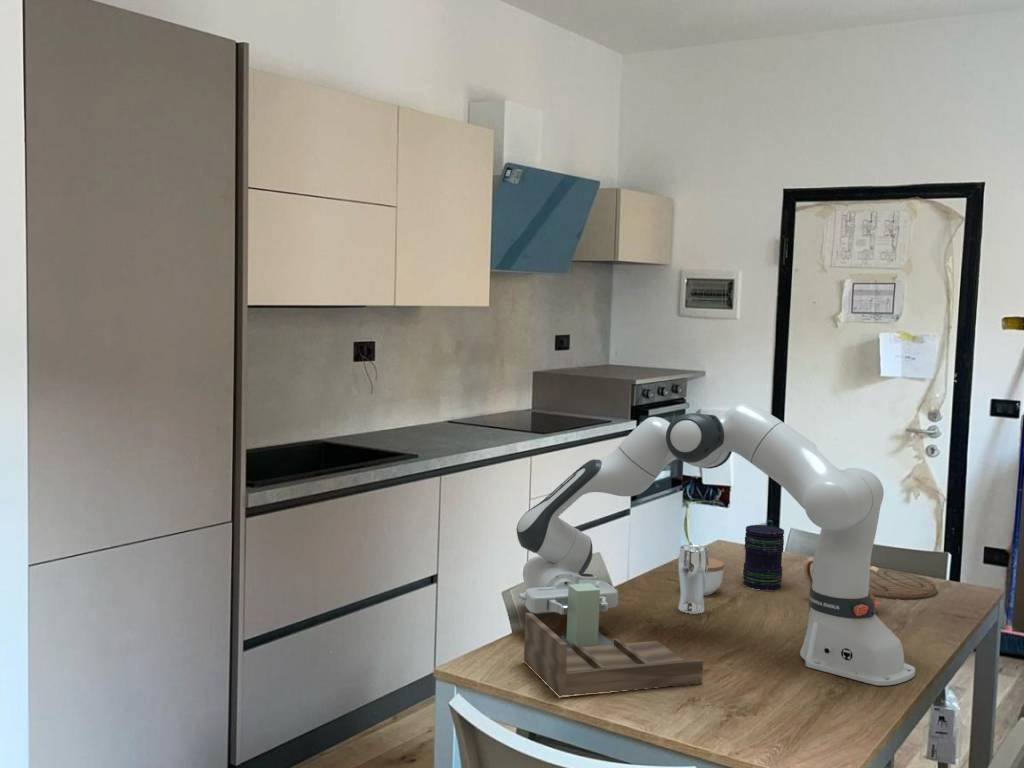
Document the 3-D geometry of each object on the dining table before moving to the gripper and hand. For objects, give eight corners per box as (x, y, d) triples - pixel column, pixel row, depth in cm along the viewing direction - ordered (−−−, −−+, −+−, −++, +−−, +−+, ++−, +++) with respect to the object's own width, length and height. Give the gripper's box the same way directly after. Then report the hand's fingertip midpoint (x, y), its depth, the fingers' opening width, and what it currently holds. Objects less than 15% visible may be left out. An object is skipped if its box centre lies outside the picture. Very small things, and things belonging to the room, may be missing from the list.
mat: (542, 638, 215) (542, 636, 215) (598, 633, 219) (598, 631, 219) (563, 657, 204) (563, 655, 204) (622, 652, 208) (622, 650, 208)
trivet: (872, 603, 250) (873, 596, 250) (816, 576, 274) (816, 569, 274) (957, 598, 257) (958, 591, 256) (895, 572, 281) (896, 565, 280)
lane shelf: (523, 662, 200) (525, 613, 200) (656, 650, 210) (658, 603, 209) (559, 698, 183) (561, 644, 182) (701, 683, 192) (704, 632, 191)
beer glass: (697, 616, 233) (700, 553, 232) (671, 610, 238) (673, 548, 236) (711, 610, 239) (714, 547, 238) (684, 604, 243) (687, 542, 242)
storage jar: (734, 582, 264) (737, 526, 263) (764, 579, 268) (767, 523, 267) (758, 592, 255) (762, 534, 254) (789, 589, 259) (792, 532, 258)
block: (566, 640, 213) (568, 584, 212) (588, 638, 215) (590, 583, 214) (575, 648, 208) (577, 591, 207) (597, 646, 210) (599, 589, 209)
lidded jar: (692, 583, 262) (694, 548, 261) (730, 592, 255) (732, 555, 254) (671, 592, 253) (673, 555, 253) (709, 600, 247) (711, 563, 246)
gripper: (516, 579, 219) (538, 597, 206) (602, 574, 226) (629, 591, 213) (515, 607, 220) (537, 627, 207) (601, 601, 227) (628, 620, 214)
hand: (584, 609), depth 210 cm, fingers open, 8 cm apart
